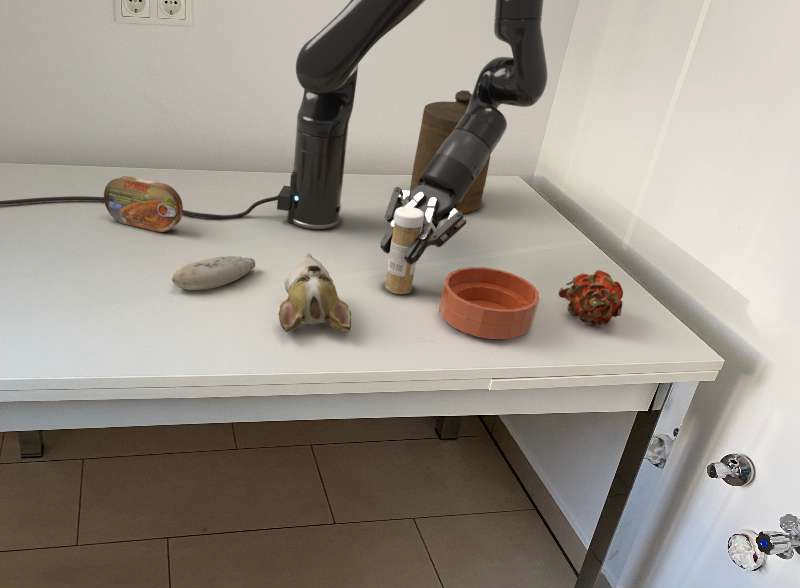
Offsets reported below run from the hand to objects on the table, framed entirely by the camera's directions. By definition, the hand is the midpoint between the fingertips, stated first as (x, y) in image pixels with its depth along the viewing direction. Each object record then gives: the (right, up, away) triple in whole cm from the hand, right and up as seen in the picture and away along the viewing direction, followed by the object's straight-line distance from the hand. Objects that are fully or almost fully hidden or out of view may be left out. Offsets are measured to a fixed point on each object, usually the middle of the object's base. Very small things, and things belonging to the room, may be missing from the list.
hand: (396, 255), depth 124 cm
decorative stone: (-29, -4, +3) cm, 29 cm away
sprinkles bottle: (+1, -5, +5) cm, 7 cm away
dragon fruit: (+30, -10, +1) cm, 32 cm away
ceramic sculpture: (-14, -10, -5) cm, 18 cm away
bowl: (+13, -10, -2) cm, 17 cm away
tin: (-43, +8, +19) cm, 48 cm away
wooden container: (+15, +17, +39) cm, 46 cm away
